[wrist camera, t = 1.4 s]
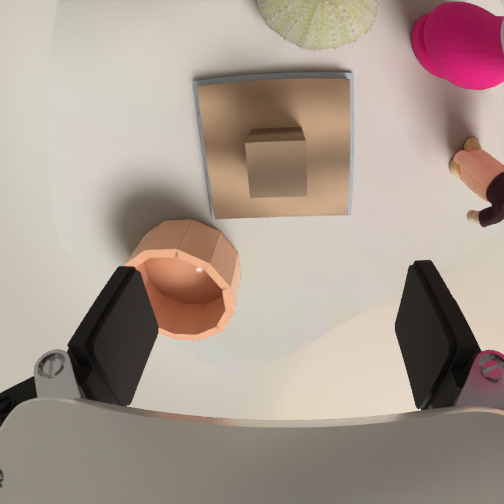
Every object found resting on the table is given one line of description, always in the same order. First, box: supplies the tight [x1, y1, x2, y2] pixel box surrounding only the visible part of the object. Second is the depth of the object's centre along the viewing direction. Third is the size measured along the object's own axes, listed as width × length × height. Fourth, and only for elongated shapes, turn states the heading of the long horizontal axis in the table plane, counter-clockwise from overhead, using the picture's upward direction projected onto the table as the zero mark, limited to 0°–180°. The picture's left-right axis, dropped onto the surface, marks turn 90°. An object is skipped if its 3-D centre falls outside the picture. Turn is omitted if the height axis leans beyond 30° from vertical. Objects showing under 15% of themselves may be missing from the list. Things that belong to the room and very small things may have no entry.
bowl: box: [124, 219, 241, 340], centre depth 32 cm, size 11×11×6 cm
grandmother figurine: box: [449, 137, 504, 227], centre depth 20 cm, size 8×4×13 cm, turn 159°
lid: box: [197, 78, 351, 219], centre depth 24 cm, size 12×12×6 cm
